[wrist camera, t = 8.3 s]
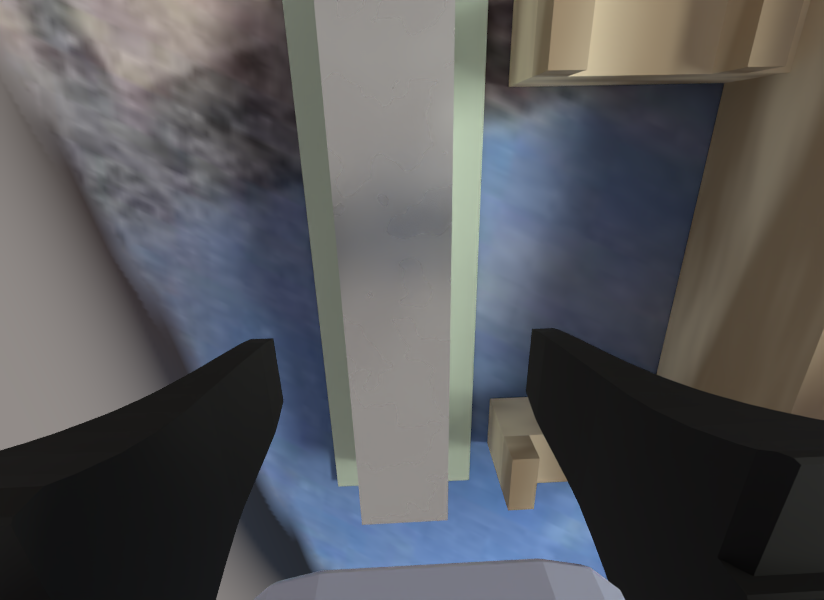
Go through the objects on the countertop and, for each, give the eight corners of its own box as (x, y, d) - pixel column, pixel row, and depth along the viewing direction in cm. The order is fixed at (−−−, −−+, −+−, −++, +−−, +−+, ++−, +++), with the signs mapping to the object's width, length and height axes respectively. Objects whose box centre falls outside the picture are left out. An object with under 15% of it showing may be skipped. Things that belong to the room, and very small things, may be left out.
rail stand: (804, -89, 15) (1125, -264, 8) (658, 468, 25) (754, 587, 18) (518, -88, 14) (621, -269, 8) (485, 476, 24) (519, 602, 18)
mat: (489, -79, 15) (491, -84, 14) (467, 474, 24) (468, 479, 24) (275, -78, 14) (272, -84, 14) (339, 481, 24) (338, 486, 23)
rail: (440, -21, 15) (456, -74, 11) (438, 458, 23) (447, 520, 19) (328, -20, 15) (307, -73, 11) (366, 461, 23) (362, 524, 19)
